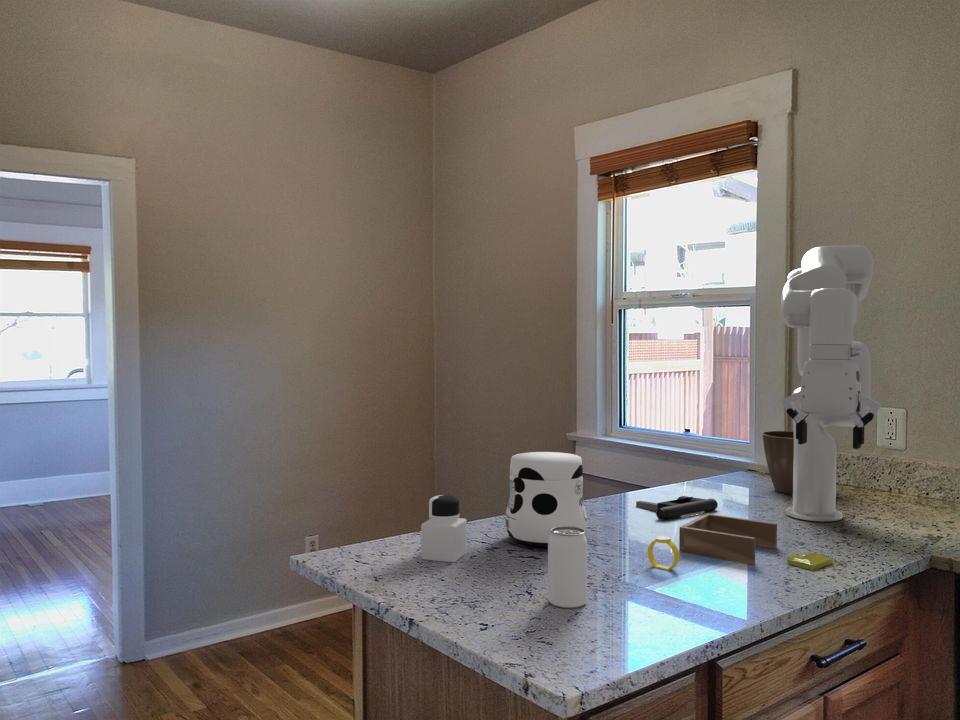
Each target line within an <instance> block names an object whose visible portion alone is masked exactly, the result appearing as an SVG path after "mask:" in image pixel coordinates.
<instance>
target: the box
mask: <svg viewBox="0 0 960 720" xmlns="http://www.w3.org/2000/svg"><path fill="white" fill-rule="evenodd" d="M678 537H679V540H678V541H679V542H678V543H679V544H678V551H679V552H680V551H681V553H685V552H687V554H691V553H692V555H696V554H698V555H697V556H702V555H703V557H708V556H709V557H708V558H713V557H715V558H714V559H719V558H720V560H725V561H732V562H735V561H736V563H742V564H748V565H755V564H756V546H757V545H758V547H763V546H764V547H765V548H771V549H777V548H778V523H777V522H776V523H775V522H768V521H761V520H755V519H747V518H741V517H735V516H729V515H720V514H715V513H714V514H713V513H708V512H707V513H706V512H705V513H704V514H701V515H700V516H699V517H697V518H695V519H693V520H690V521H688V522H687V523H685V524H683V525H681V526H679V536H678Z"/></svg>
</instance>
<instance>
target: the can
mask: <svg viewBox="0 0 960 720" xmlns="http://www.w3.org/2000/svg"><path fill="white" fill-rule="evenodd" d="M584 533H585V534H586V531H584V530H583V529H581V528H577V527H568V526H564V527H555V528H553V529H551V534H550V537H549V539H548V546H547V601H548V602H549V603H550V604H551V605H552V606H553V607H556V608H561V609H578V608H581V607H584V606H585V605H586V603H587V602H588V539H587V537H586V535H585V534H584Z"/></svg>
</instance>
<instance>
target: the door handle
mask: <svg viewBox="0 0 960 720" xmlns="http://www.w3.org/2000/svg"><path fill="white" fill-rule="evenodd" d="M635 503H636V504H635V505H636V506H635V507H636V508H641V509H644V510H648V511H651V512H652V511H653V512H655V515H656V517H657V519H659V520H663V521H666V520H670V519H671V520H673V519H675V518H679V517H685V518H687V517H686V516H690V517H692V516H691V515H695V516H697V515H696V514H700V515H703V514H702V513H704V514H705V513H706V512H707V513H708V512H712V511H715V510H716V509H717V508H718V505H719V504H718V501H717V499H714V498H706V499H705V498H700V497H699V498H698V497H693V496H686V495H682V496H679V497H677V498H676V499H673V500H667V501H661V502H657V503H656V502H651V501H645V500H637V501H635Z"/></svg>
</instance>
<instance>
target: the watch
mask: <svg viewBox="0 0 960 720" xmlns="http://www.w3.org/2000/svg"><path fill="white" fill-rule="evenodd" d="M656 543H659V544H667V545H668V546H669V547H670V549H671V551H672V553H673V558H674V559H673V563H672V565H671V566H666V565H662V564H659V563H658V561H656V560H655V557H654V554H653V553H654V552H653V551H654V546H655V545H656ZM647 557H648V560H649V562H650V564H651V565H652V566H653V568H654V569H660V570H664V571H667V572H669V571H671V570H673V569H674V568H676V567H677V566H678V564H679V561H680V551H679V548H678V547H677V546H676V544H675V543H674V542H673V541H672V540H671V537H670V536H666V535H664V536H663V535H659V536H655V540H652V541H650V544H649V545H648V547H647Z"/></svg>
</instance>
